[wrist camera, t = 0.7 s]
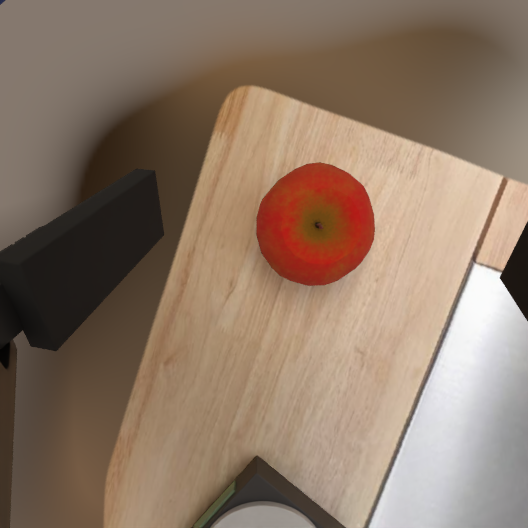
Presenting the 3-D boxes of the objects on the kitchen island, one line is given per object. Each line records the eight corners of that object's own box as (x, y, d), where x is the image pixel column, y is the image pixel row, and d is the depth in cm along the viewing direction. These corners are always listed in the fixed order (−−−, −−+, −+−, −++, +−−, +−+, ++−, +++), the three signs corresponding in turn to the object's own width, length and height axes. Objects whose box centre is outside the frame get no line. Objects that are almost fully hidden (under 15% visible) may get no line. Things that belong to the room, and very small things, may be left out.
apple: (282, 163, 31) (290, 126, 20) (367, 203, 31) (420, 187, 21) (242, 250, 32) (230, 259, 21) (326, 288, 32) (357, 317, 21)
